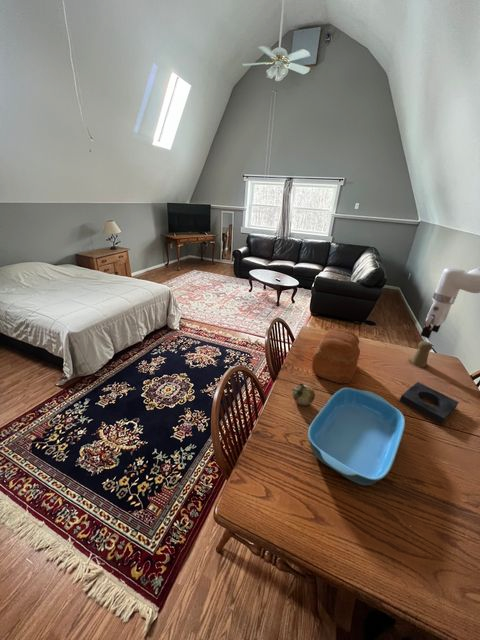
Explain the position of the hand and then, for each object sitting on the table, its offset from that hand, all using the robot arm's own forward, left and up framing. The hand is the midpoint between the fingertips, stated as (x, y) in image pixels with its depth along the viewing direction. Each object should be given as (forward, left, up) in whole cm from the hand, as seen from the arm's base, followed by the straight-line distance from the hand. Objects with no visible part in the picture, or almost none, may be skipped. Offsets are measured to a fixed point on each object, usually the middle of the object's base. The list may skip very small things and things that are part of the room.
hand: (429, 333), depth 119 cm
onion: (+14, +66, -16) cm, 69 cm away
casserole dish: (-7, +66, -16) cm, 68 cm away
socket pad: (-14, +28, -15) cm, 35 cm away
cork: (0, 0, -16) cm, 16 cm away
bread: (+20, +38, -16) cm, 45 cm away
